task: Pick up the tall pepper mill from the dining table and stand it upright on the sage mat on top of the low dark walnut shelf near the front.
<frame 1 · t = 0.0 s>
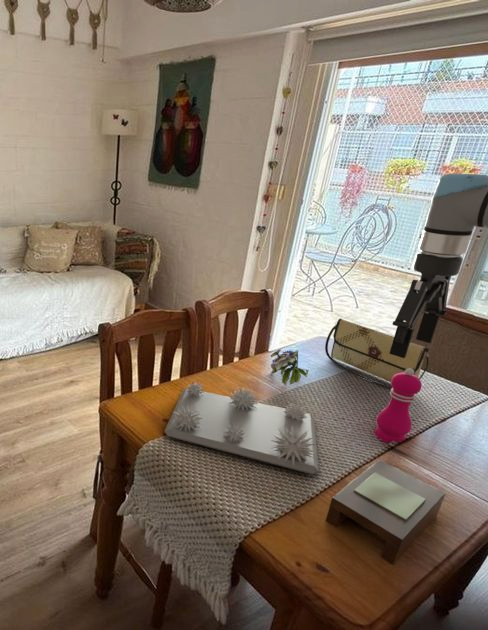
hand: (410, 348, 97), 29 cm above the table, tool pointing down, fingers open, 13 cm apart
pepper mill: (388, 438, 113), on the table
decorative tray: (239, 432, 115), on the table
passion flower: (286, 377, 143), on the table
clutch purse: (365, 375, 144), on the table
shelf: (381, 518, 89), on the table
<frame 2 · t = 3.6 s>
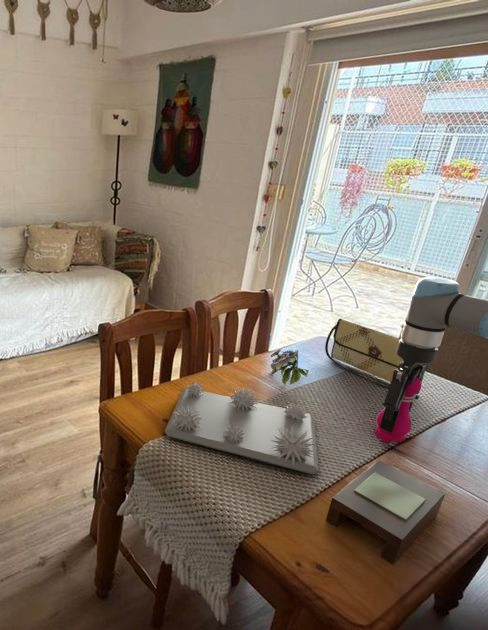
hand: (393, 424, 112), 4 cm above the table, tool pointing down, fingers closed on pepper mill, 7 cm apart
pepper mill: (388, 438, 113), on the table, touching gripper
everything else where it was.
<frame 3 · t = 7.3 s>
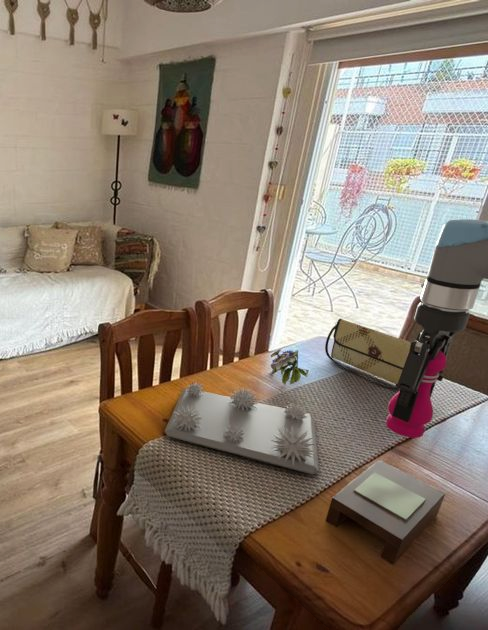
hand: (409, 412, 89), 20 cm above the table, tool pointing down, fingers closed on pepper mill, 7 cm apart
pepper mill: (403, 429, 90), point 16 cm above the table, touching gripper
everything else where it was.
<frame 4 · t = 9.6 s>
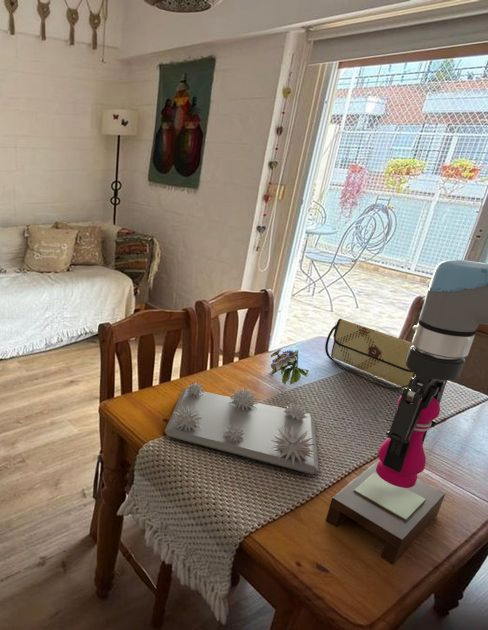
hand: (401, 459, 83), 15 cm above the table, tool pointing down, fingers closed on pepper mill, 7 cm apart
pepper mill: (394, 477, 85), point 10 cm above the table, touching gripper
everything else where it was.
when the fingers open (10 cm above the table, at t = 11.2 s): pepper mill stays where it is, resting on shelf.
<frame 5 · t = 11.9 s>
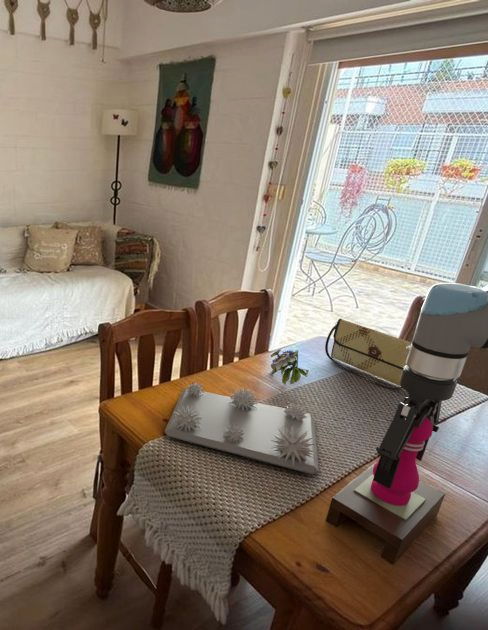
hand: (398, 469, 84), 12 cm above the table, tool pointing down, fingers open, 13 cm apart
pepper mill: (389, 494, 86), point 6 cm above the table, touching shelf
everything else where it was.
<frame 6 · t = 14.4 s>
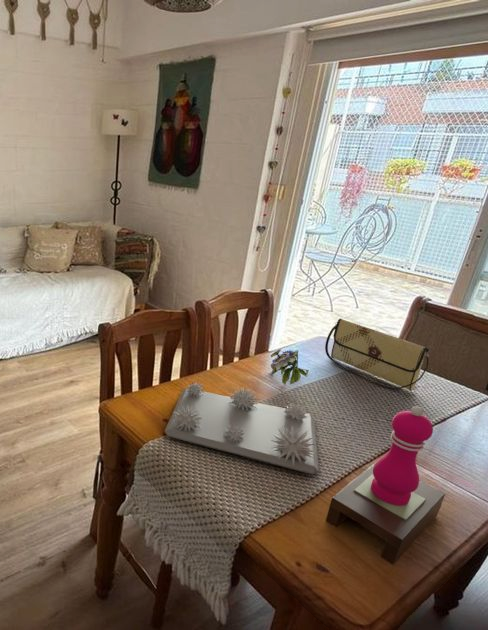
nothing on the table moved.
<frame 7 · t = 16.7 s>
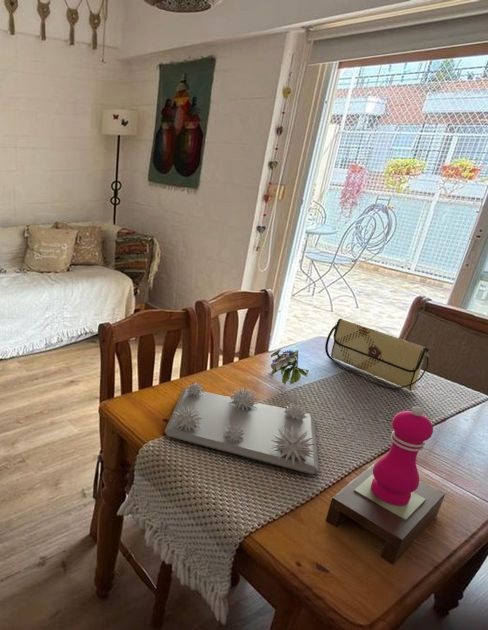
nothing on the table moved.
at the end: pepper mill inside the target area on the shelf (0.1 cm from its centre), point 6.0 cm above the shelf's base; pepper mill tilted 0°; the gripper is holding nothing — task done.
